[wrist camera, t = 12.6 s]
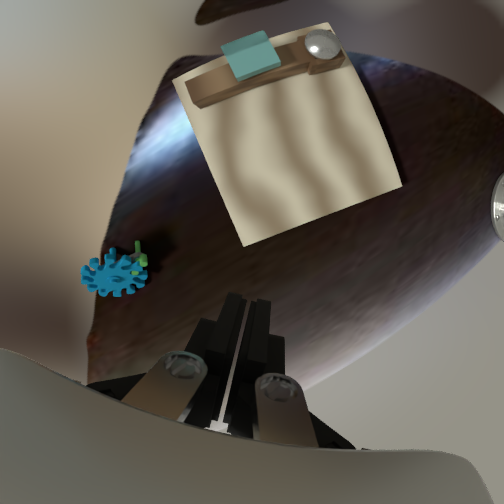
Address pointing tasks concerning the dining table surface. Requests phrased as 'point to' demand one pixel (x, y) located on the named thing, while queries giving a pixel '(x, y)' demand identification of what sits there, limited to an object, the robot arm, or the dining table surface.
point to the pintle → (322, 44)
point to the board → (292, 146)
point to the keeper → (251, 55)
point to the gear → (116, 273)
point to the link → (226, 85)
